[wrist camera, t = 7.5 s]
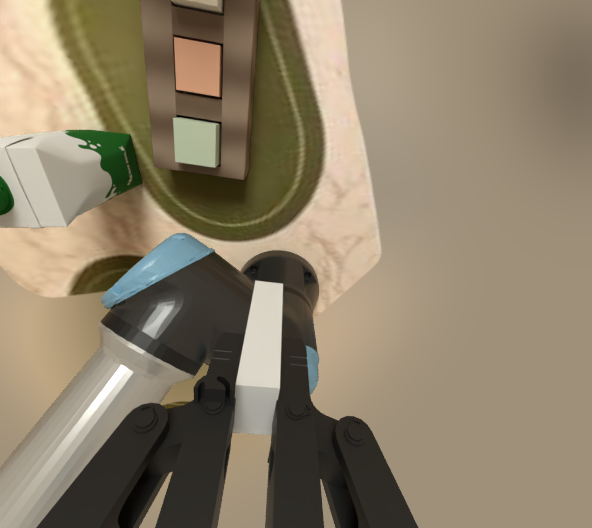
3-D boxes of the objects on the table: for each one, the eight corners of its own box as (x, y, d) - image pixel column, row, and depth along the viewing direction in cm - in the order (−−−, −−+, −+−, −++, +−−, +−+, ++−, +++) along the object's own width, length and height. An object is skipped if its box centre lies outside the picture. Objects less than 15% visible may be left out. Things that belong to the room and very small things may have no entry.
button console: (248, 172, 44) (243, 179, 39) (168, 160, 43) (154, 166, 38) (262, -43, 32) (258, -66, 28) (153, -66, 31) (132, -95, 27)
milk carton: (71, 126, 40) (-97, 141, 23) (136, 127, 40) (19, 142, 23) (92, 189, 44) (-36, 242, 27) (151, 189, 45) (62, 241, 27)
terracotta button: (224, 97, 37) (219, 96, 34) (185, 91, 37) (176, 89, 34) (225, 50, 35) (219, 45, 32) (184, 43, 34) (173, 37, 31)
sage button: (220, 163, 40) (215, 167, 37) (184, 157, 39) (175, 161, 36) (221, 123, 37) (215, 124, 34) (182, 117, 37) (173, 118, 34)
